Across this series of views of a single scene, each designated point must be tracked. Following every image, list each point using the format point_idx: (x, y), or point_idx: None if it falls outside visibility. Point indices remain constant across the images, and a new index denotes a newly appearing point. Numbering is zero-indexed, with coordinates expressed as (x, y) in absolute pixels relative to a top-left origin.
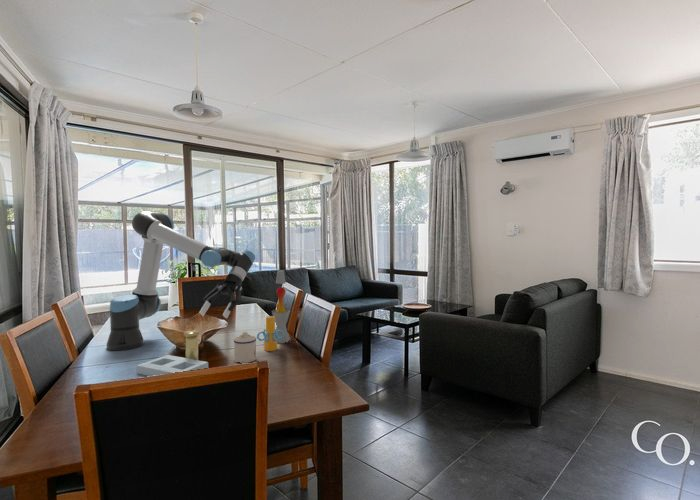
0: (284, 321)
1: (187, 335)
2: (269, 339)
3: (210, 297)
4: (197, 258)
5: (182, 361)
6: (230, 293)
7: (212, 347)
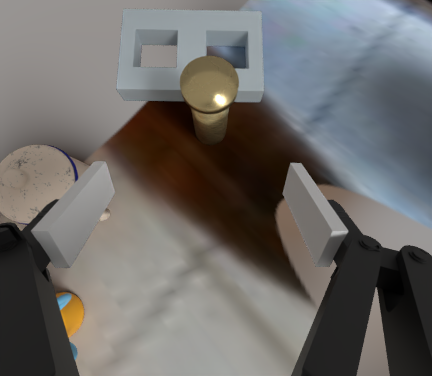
0: None
1: (201, 59)
2: None
3: (347, 272)
4: None
5: (182, 68)
6: (34, 368)
7: (255, 250)
